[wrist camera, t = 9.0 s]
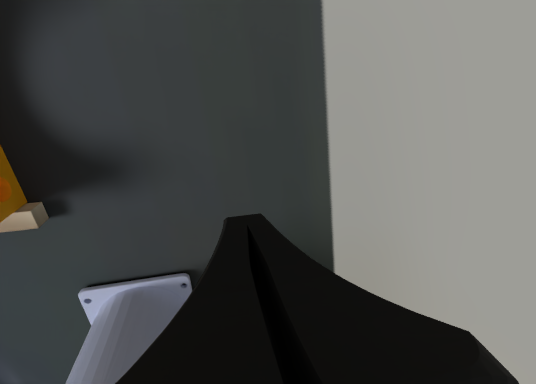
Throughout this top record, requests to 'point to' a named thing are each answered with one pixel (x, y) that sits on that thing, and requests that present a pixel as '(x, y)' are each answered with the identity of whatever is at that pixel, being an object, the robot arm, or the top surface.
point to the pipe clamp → (9, 189)
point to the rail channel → (25, 218)
